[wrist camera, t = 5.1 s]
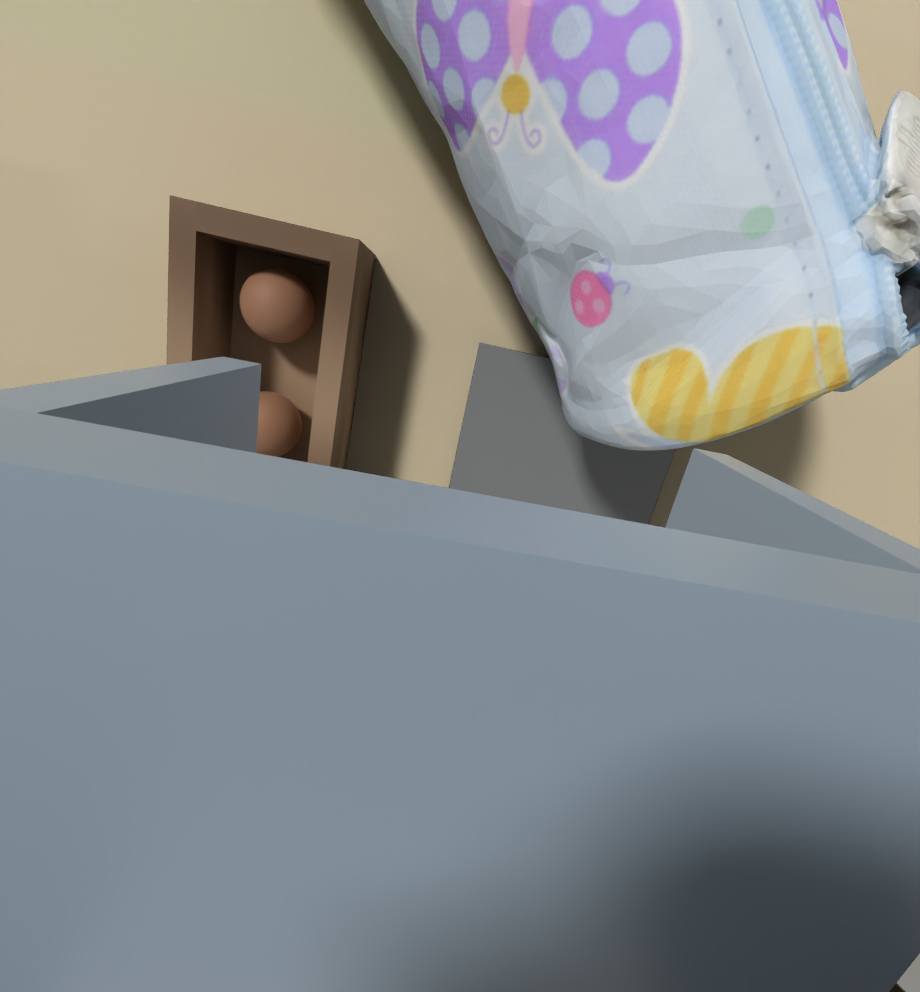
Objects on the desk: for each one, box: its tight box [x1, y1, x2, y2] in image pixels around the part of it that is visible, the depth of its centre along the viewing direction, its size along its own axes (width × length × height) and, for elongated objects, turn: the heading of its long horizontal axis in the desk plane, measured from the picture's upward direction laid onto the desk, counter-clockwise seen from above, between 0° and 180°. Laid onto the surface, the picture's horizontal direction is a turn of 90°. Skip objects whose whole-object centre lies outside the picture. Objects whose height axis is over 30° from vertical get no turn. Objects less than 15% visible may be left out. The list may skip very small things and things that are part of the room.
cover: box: [0, 357, 920, 992], centre depth 6 cm, size 10×7×4 cm
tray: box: [167, 196, 376, 469], centre depth 17 cm, size 16×5×3 cm, turn 168°
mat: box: [449, 343, 675, 524], centre depth 20 cm, size 12×8×1 cm, turn 168°
